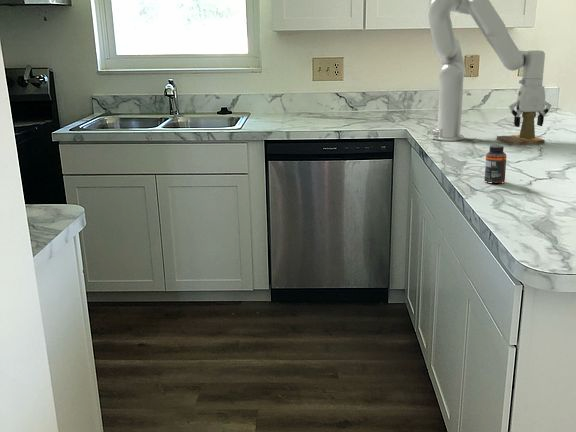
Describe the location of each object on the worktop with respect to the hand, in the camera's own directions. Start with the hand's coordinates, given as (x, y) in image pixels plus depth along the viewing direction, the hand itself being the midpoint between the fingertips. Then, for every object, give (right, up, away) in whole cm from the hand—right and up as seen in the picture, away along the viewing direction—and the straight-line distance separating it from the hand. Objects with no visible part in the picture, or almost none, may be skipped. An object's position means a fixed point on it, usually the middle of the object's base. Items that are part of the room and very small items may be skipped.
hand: (528, 126), depth 252 cm
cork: (0, -5, +1) cm, 5 cm away
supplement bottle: (-34, -26, -61) cm, 74 cm away
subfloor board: (-3, -6, +1) cm, 7 cm away
